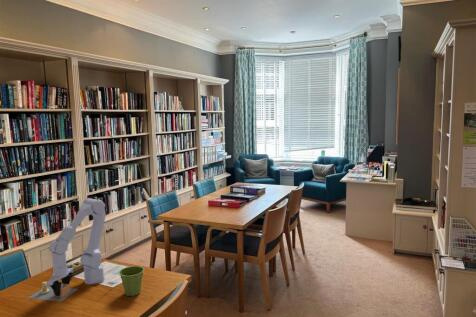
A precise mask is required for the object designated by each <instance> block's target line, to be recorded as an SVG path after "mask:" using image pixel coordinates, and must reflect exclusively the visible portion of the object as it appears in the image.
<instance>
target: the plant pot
mask: <svg viewBox="0 0 476 317" xmlns="http://www.w3.org/2000/svg"><path fill="white" fill-rule="evenodd" d="M144 271H145V268H144V267H143V266H141V265H140V266H139V265H130V266H126V267H124V268H121V269H120V270H119V271H118V274H119V276H120V279H121V282H122V287H123V291H124V294H125V296H127V297H130V296H131V297H134V296H138V295H139V294H140V293H141V291H142V290H141V289H142V282H143V275H144Z"/></svg>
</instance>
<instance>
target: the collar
mask: <svg viewBox="0 0 476 317" xmlns="http://www.w3.org/2000/svg"><path fill="white" fill-rule="evenodd" d="M70 288H71V286H70V283H69V284H63V288H60V296H55V293H54V291H53V295H54V296H55V297H64V296H65V295H67V294H68V293H69V292H70Z"/></svg>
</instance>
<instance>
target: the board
mask: <svg viewBox="0 0 476 317" xmlns="http://www.w3.org/2000/svg"><path fill="white" fill-rule="evenodd" d="M61 288H63V283H62V284H61ZM77 290H78V288H72V287H70V292H69V293H68V294H67V295H65V296H64V297H55V296H54V295H53V289H52V288H51V286H50V285H48V282H47V281H43V282H42V283H41V288H40V289H39V290H38V291H36V292H35V293H33V294H32V295H30V296H28V297H27V299H31V300H32V299H33V300H43V301H53V302H62V301H64V300H65V299H67V298H69V297H70V296H71V295H72V294H73V293H75V292H76V291H77Z"/></svg>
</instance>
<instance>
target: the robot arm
mask: <svg viewBox="0 0 476 317" xmlns="http://www.w3.org/2000/svg"><path fill="white" fill-rule="evenodd" d="M105 208H106V204H105V202H103V200H101V199H94V198H91V197H87V198H85V199H84V200H83V202H82V203H81V204H80V207H79V210H78V211H77V213H76V215H75V216H74V217H73V219H72V221H70V224H69V225H65V227H63V228H62V229H61V232H60V233H59V234H58V236H57V237H56V238H55V240H53V241H52V242H51V243H50V244H49V247H48V250H49V251H50V252H51V260H52V271H53V273H52V274H51V277H50V278H49V280H47V281H46V283H47V286H51V288H52V289H53V291H54V293H55V296H60V288H61V284H62V283H63V284H70V283H71V279H72V278H73V274H72V273H73V272H74V271H73V268H72V267H67V265H68V264H67V258H66V257H67V254H66V252H67V250H68V248H69V244H70V242H71V240H72V239H73V238H74V237H75V235H76V234H77V228H78V227H79V226H80V225H81V223H82V222H84V221H83V220H84V219H85V218H86V217H88V216H92V217H93V221H92V224H91V225H92V226H91V230H90V233H89V239H88V245H87V247H86V248H85V249H84V250H83V253H82V255H81V257H80V259H79V260H80V262H79V263H80V264H82V266H83V277H84V278H83V279H84V284H85V285H94V284H98V283H104V281H105V275H104V265H101V264H102V252H101V251H100V246H101V245H100V244H101V240H102V234H103V231H104V225H105V220H106V209H105ZM59 280H61V281H59Z"/></svg>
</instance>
